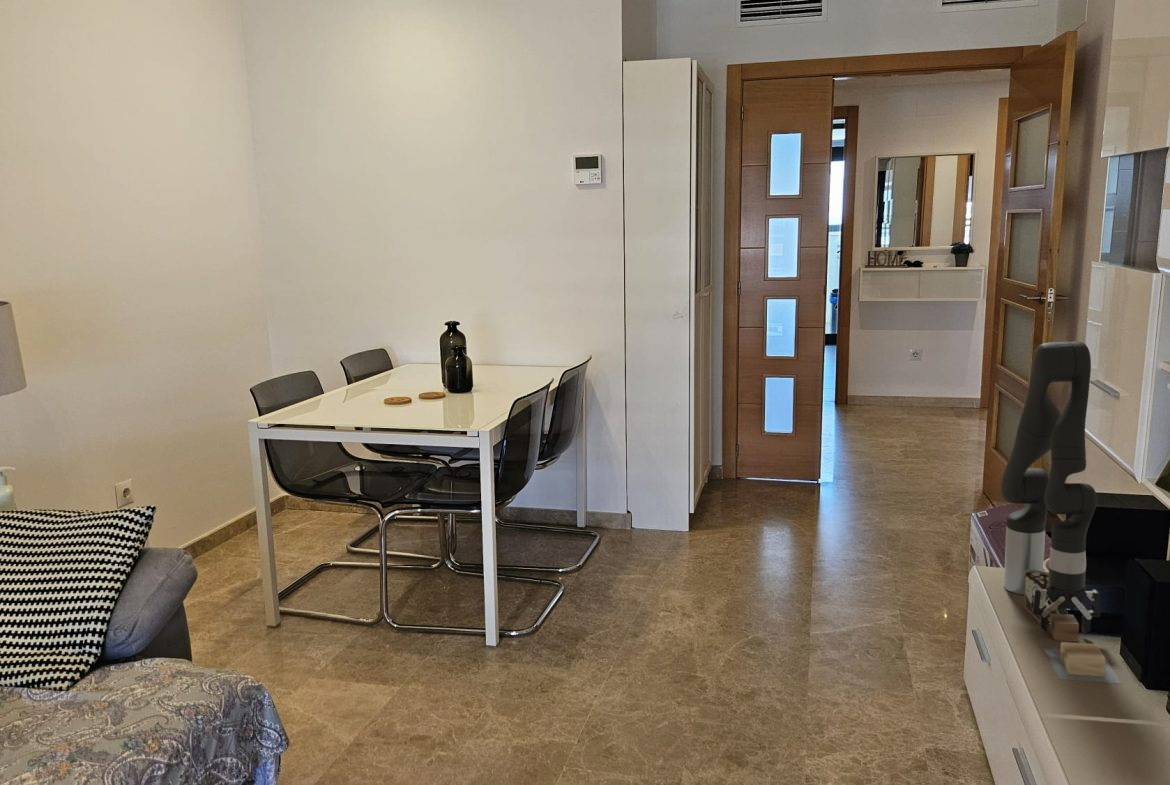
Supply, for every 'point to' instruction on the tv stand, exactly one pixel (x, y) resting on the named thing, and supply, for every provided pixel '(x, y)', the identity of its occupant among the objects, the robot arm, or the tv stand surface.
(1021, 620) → the tv stand surface
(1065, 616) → the walnut cube
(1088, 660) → the oak base block
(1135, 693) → the tv stand surface
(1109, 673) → the build board
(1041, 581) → the food container
